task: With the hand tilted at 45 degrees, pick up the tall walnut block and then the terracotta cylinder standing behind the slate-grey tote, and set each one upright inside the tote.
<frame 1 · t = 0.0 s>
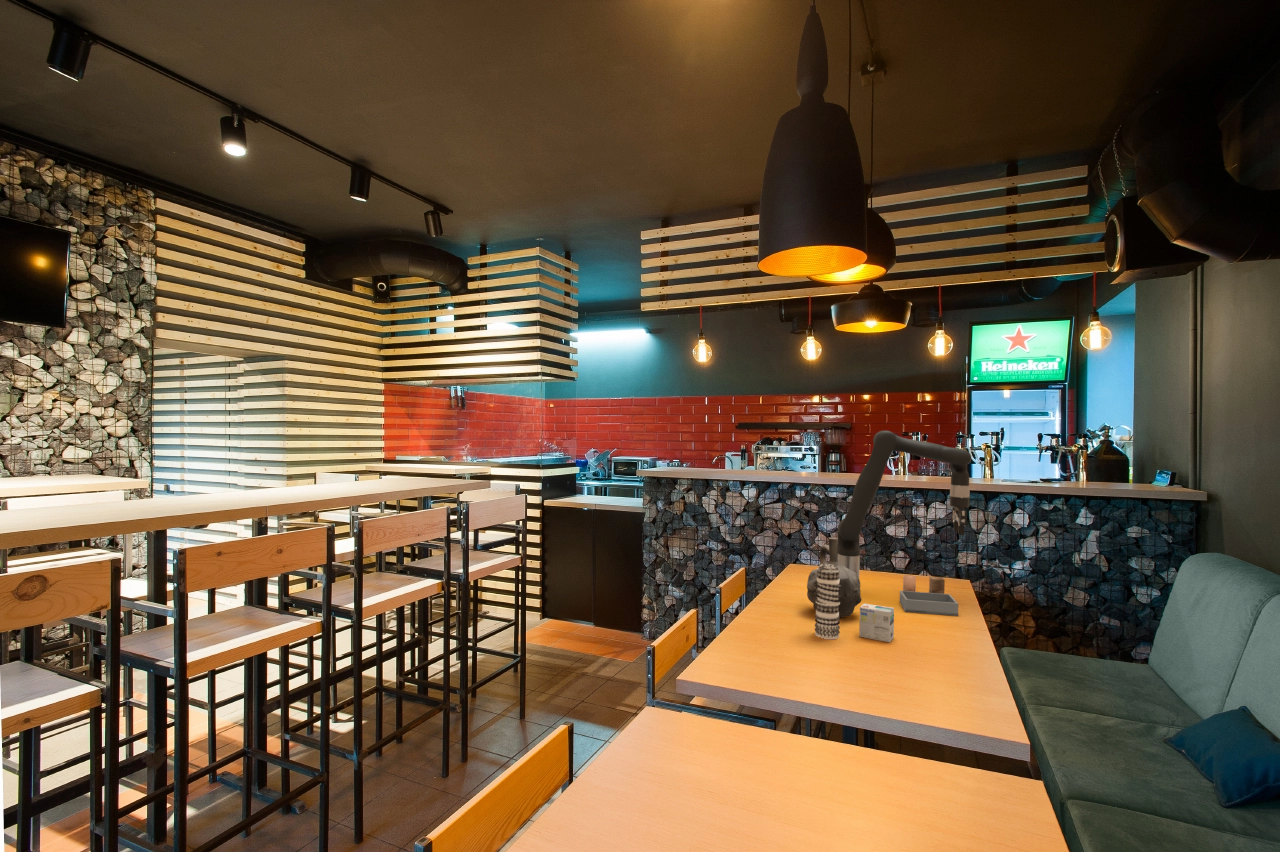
hand: (958, 533, 277), 29 cm above the table, tool pointing down, fingers open, 8 cm apart
decorative candle: (826, 636, 229), on the table
tote: (927, 609, 265), on the table
vessel: (833, 613, 257), on the table
light bulb box: (876, 638, 228), on the table
walnut block: (936, 601, 276), on the table
terracotta cylinder: (909, 599, 279), on the table
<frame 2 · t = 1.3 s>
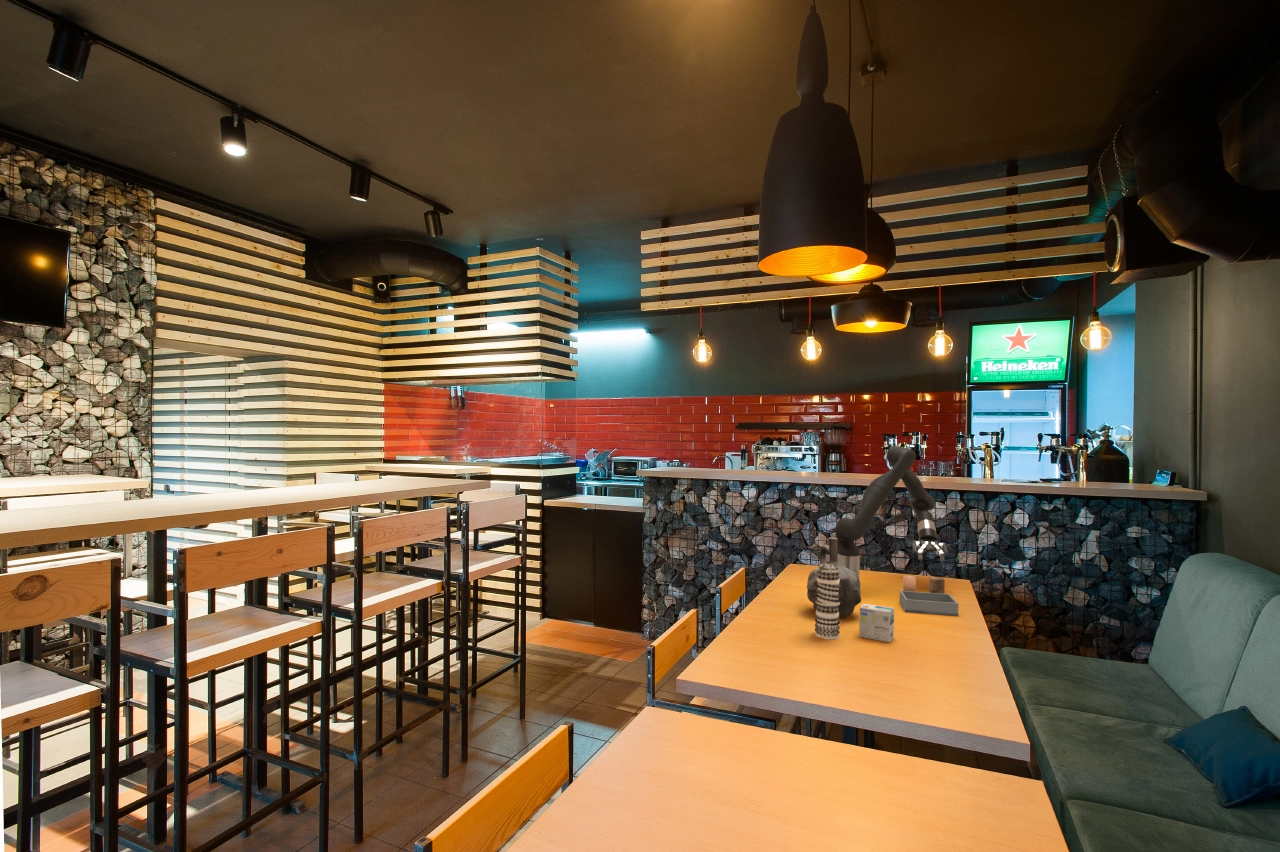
hand: (931, 562, 287), 15 cm above the table, tool tilted 45°, fingers open, 8 cm apart
nothing on the table moved.
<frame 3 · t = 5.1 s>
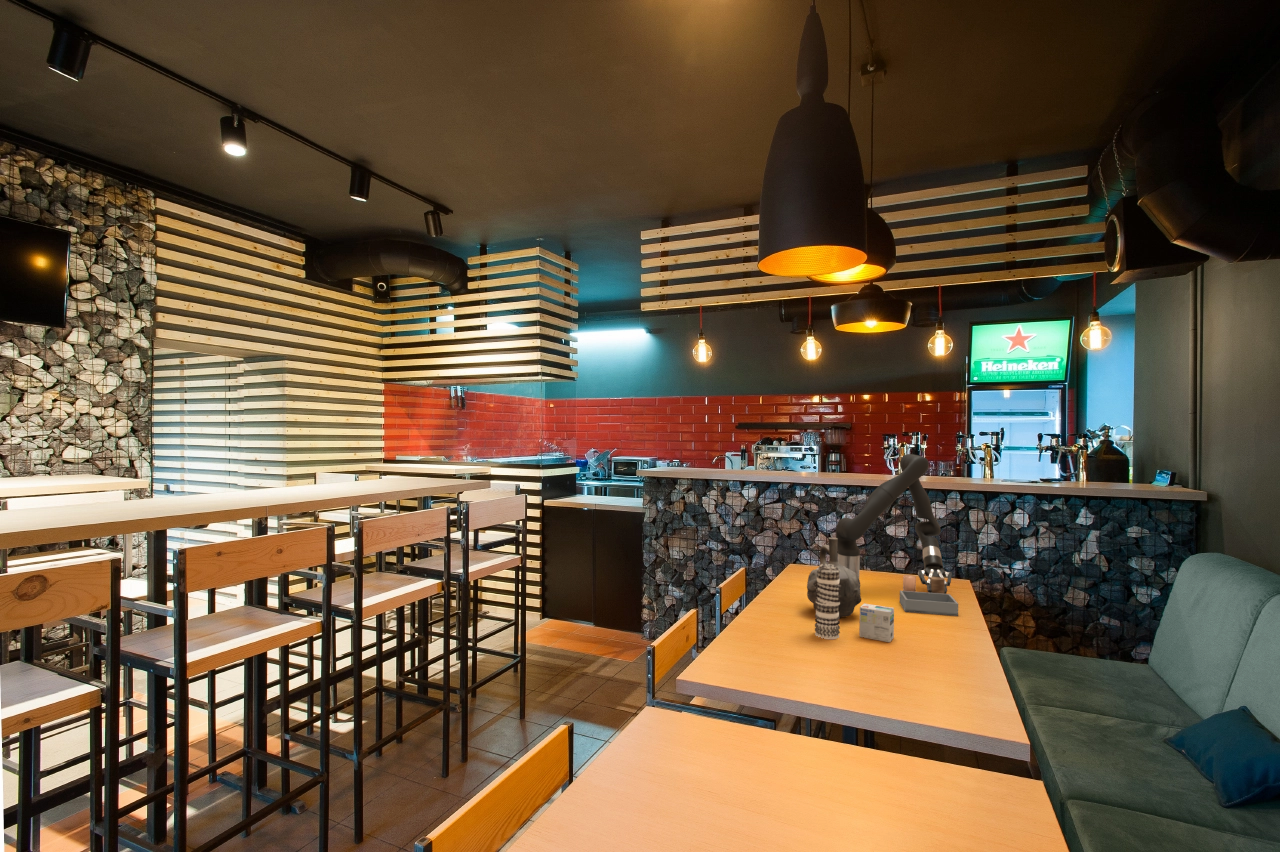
hand: (937, 592, 275), 4 cm above the table, tool tilted 45°, fingers closed on walnut block, 5 cm apart
walnut block: (936, 601, 276), on the table, touching gripper
everything else where it was.
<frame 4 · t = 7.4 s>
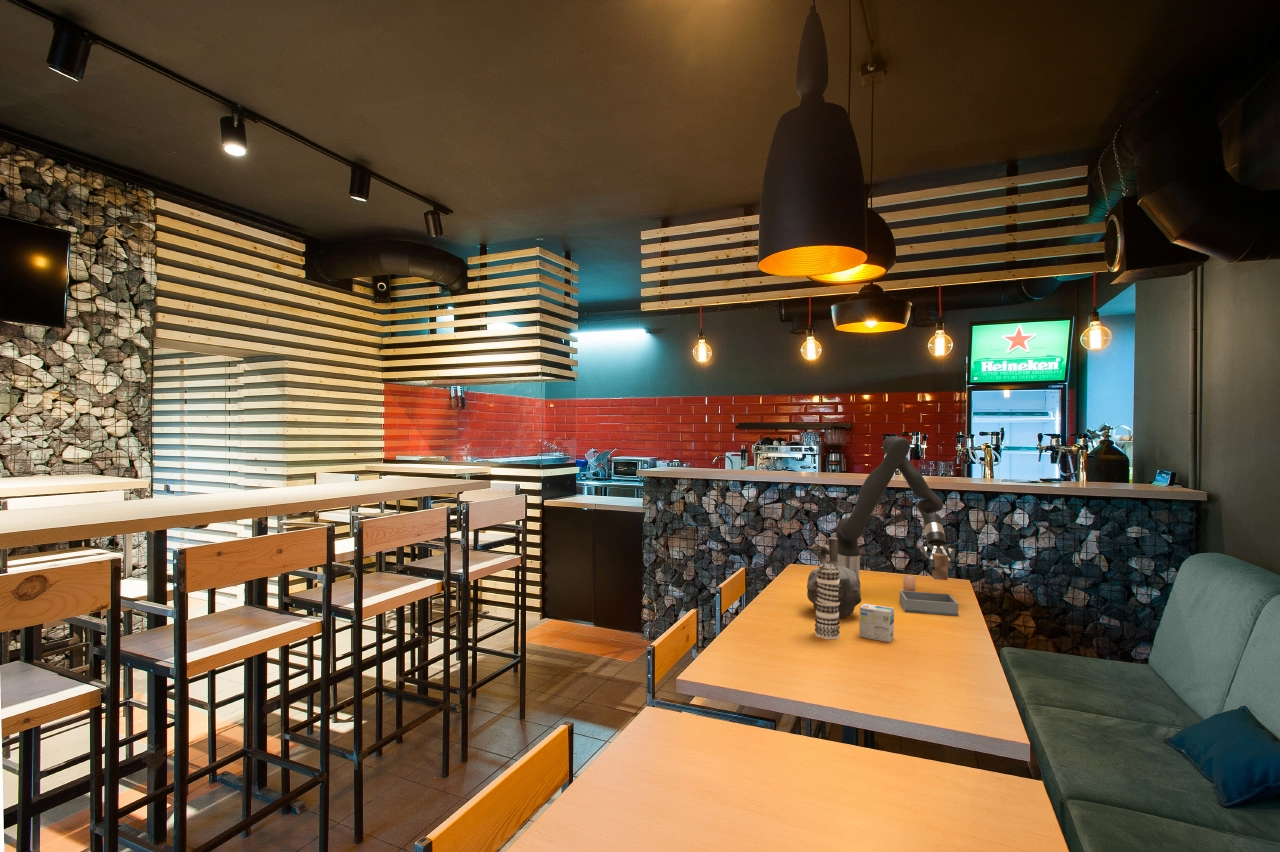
hand: (941, 569, 267), 16 cm above the table, tool tilted 45°, fingers closed on walnut block, 5 cm apart
walnut block: (939, 578, 269), point 12 cm above the table, touching gripper
everything else where it was.
when the fingers open (7 cm above the table, at t = 10.1 s): walnut block drops 2 cm, resting on tote.
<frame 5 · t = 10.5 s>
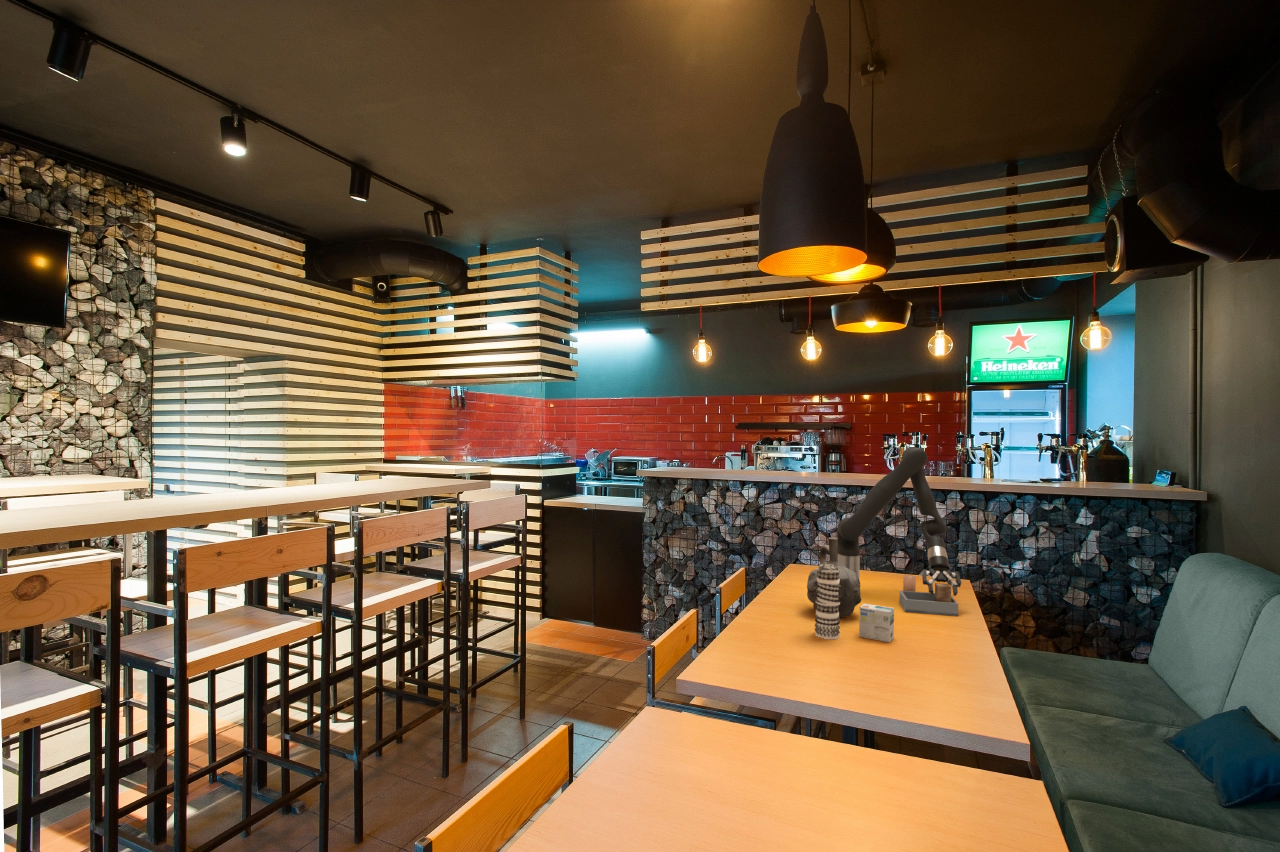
hand: (943, 594, 259), 8 cm above the table, tool tilted 45°, fingers open, 8 cm apart
walnut block: (942, 609, 261), point 1 cm above the table, touching tote
everything else where it was.
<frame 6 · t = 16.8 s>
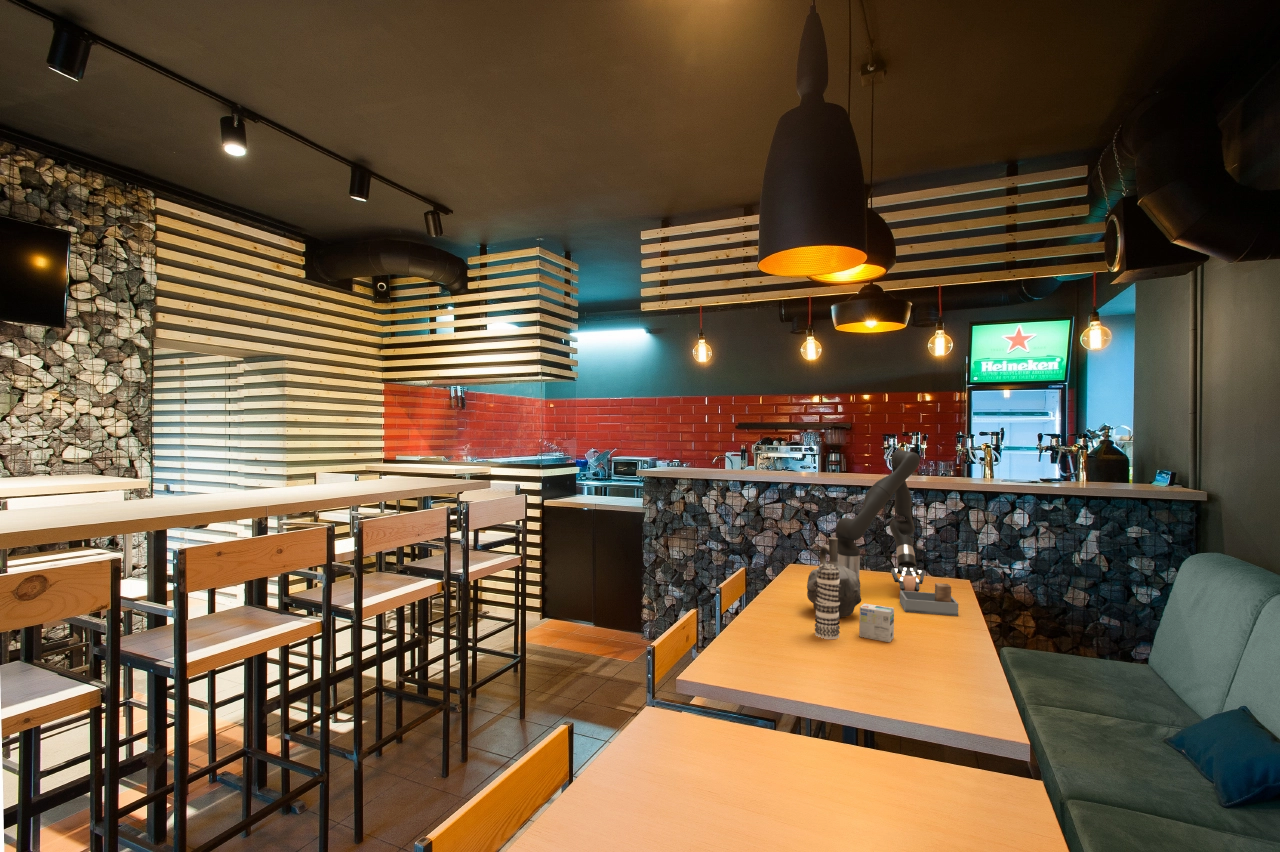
hand: (910, 590, 277), 4 cm above the table, tool tilted 45°, fingers closed on terracotta cylinder, 5 cm apart
terracotta cylinder: (909, 599, 279), on the table, touching gripper
everything else where it was.
when the fingers open (7 cm above the table, at t = 21.9 s): terracotta cylinder drops 2 cm, resting on tote.
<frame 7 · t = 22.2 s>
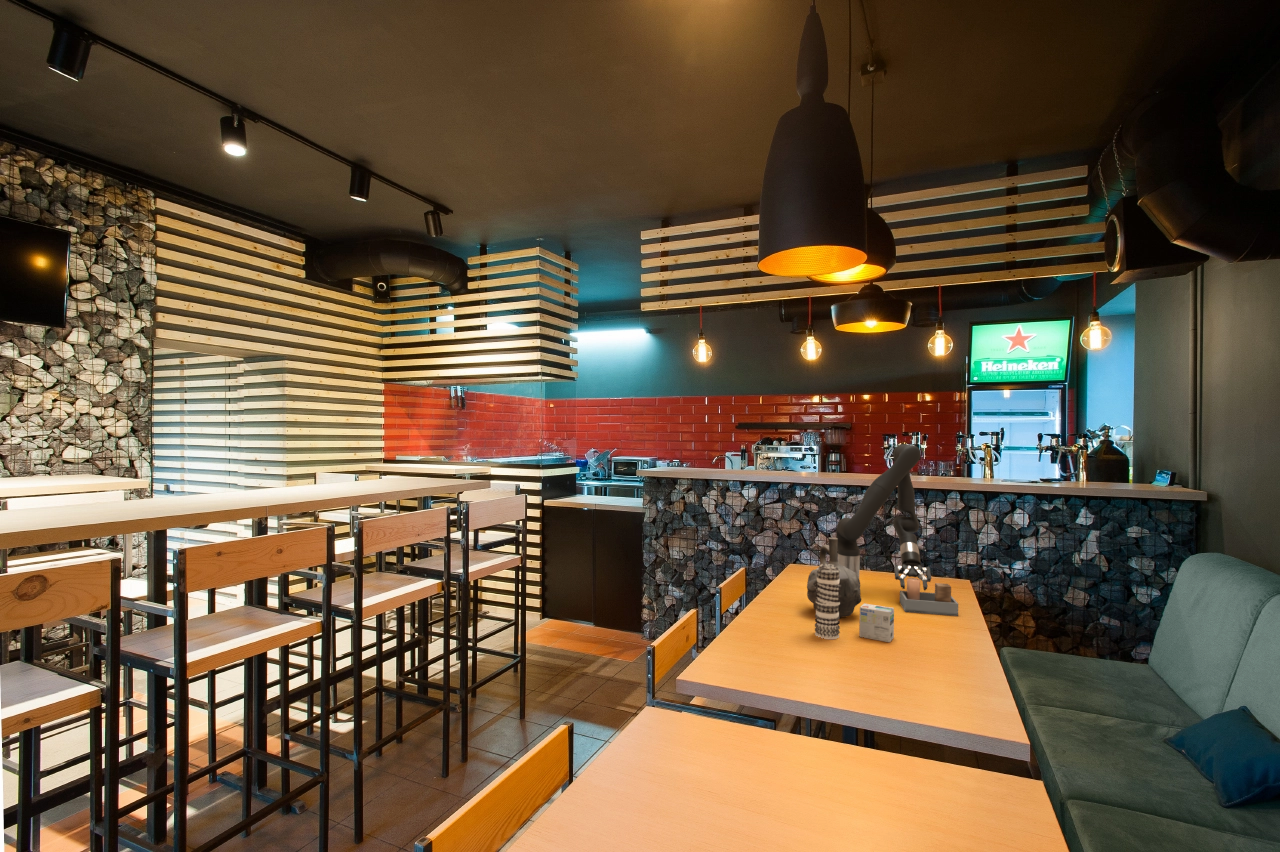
hand: (914, 588, 267), 8 cm above the table, tool tilted 45°, fingers open, 8 cm apart
terracotta cylinder: (913, 603, 269), point 1 cm above the table, touching tote
everything else where it was.
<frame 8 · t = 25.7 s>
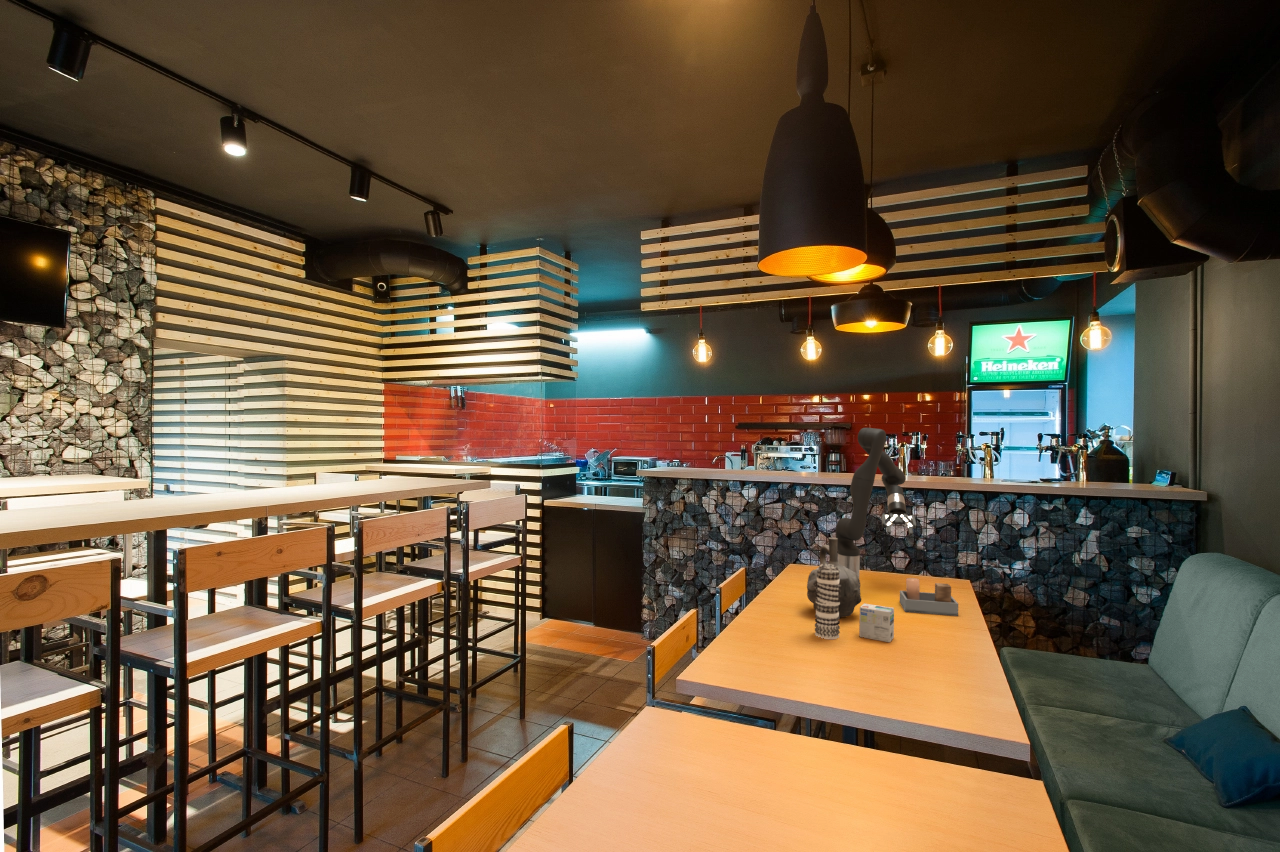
hand: (900, 534, 287), 27 cm above the table, tool tilted 45°, fingers open, 8 cm apart
nothing on the table moved.
at the end: walnut block inside the target area on the tote (5.8 cm from its centre), point 1.0 cm above the tote's base; terracotta cylinder inside the target area on the tote (6.0 cm from its centre), point 1.1 cm above the tote's base; the gripper is holding nothing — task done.
